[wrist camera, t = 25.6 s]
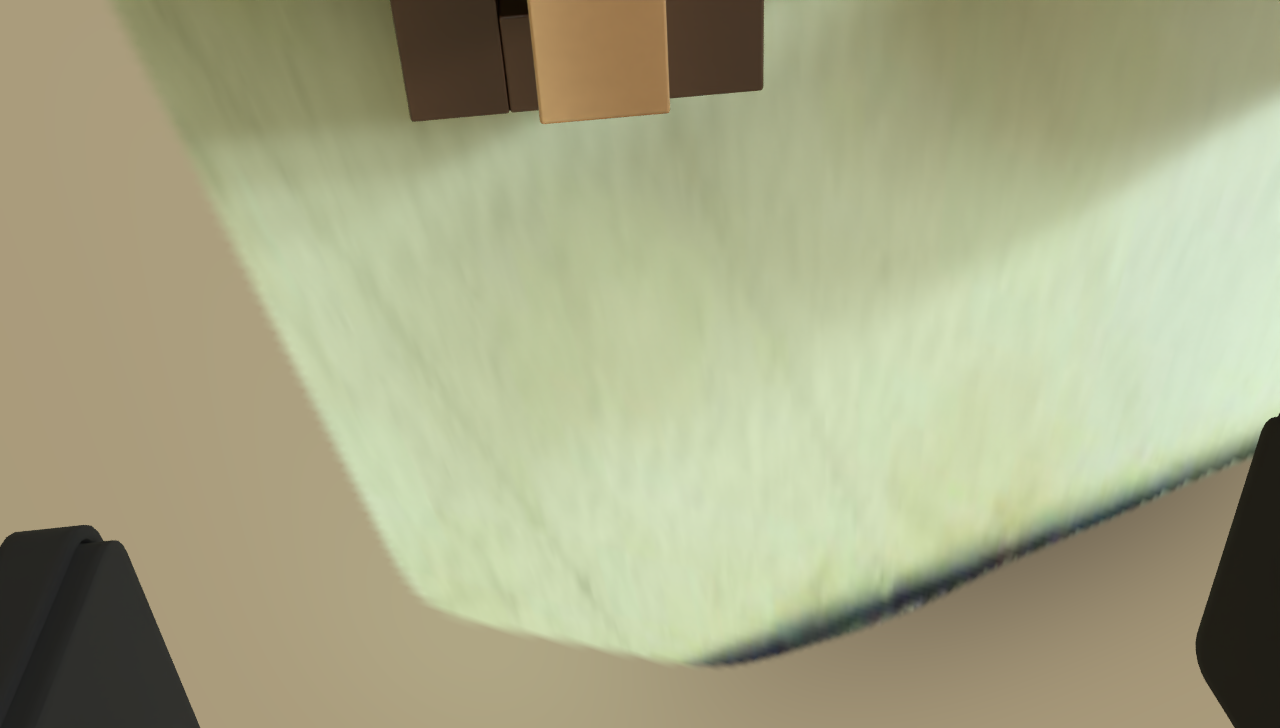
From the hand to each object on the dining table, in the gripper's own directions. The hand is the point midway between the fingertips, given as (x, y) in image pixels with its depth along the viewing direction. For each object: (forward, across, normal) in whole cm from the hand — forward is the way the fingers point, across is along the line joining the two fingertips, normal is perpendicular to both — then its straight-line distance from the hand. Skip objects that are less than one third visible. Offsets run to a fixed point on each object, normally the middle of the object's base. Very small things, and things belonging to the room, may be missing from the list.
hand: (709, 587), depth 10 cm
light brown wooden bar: (+26, 0, 0) cm, 26 cm away
